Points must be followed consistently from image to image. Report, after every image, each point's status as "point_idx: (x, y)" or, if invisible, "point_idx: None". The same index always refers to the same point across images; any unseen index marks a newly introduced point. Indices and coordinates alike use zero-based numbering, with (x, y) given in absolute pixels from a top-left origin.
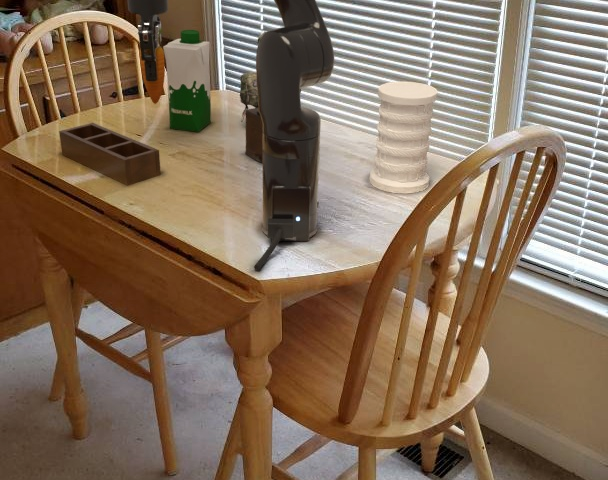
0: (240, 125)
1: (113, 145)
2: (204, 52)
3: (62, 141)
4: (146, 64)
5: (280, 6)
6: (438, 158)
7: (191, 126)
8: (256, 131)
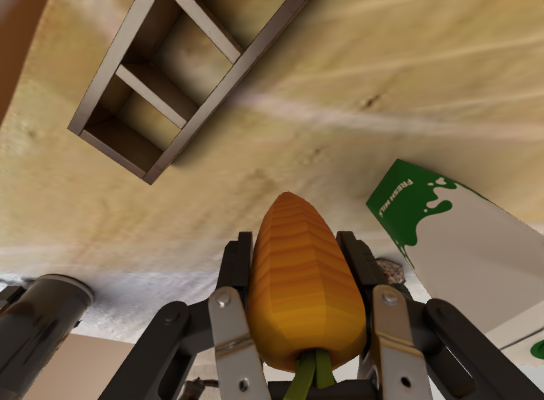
0: (384, 250)
1: (145, 86)
2: None
3: None
4: (216, 286)
5: None
6: (264, 364)
7: (374, 199)
8: None
